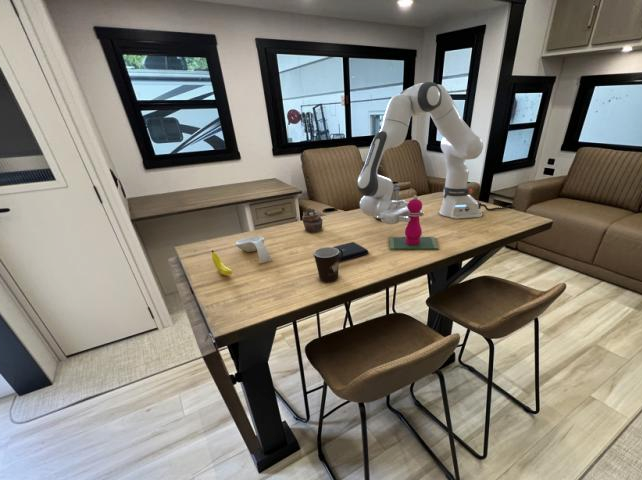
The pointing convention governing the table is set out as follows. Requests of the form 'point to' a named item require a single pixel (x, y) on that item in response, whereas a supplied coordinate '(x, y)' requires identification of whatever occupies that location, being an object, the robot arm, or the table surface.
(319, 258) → the coffee mug
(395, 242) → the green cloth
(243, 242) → the spoon rest
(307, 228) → the cupcake
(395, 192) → the milk frother
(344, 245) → the laptop
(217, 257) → the banana
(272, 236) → the table surface
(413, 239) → the pepper mill
